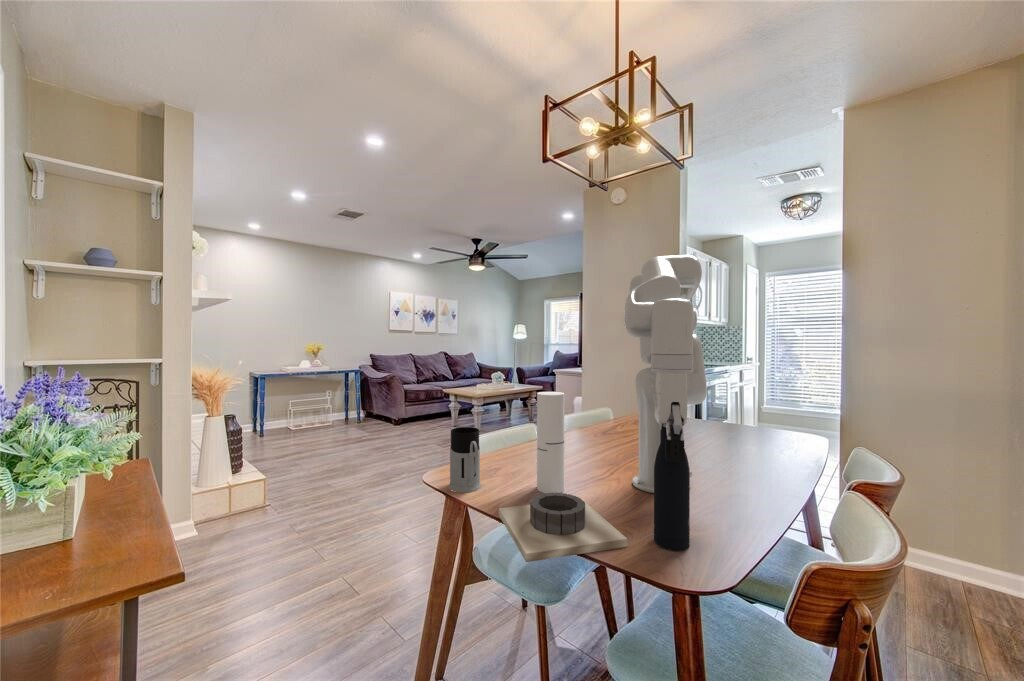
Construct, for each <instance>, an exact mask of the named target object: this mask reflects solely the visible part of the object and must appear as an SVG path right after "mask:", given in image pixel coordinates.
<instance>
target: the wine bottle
mask: <svg viewBox="0 0 1024 681" xmlns="http://www.w3.org/2000/svg"><path fill="white" fill-rule="evenodd" d="M678 403H679V402H678ZM671 412H672V411H671ZM669 422H672V423H673V421H669ZM670 429H671V428H670ZM665 439H667V431H666V423H663V426H662V427H661V443H660V445H659V448H658V451H657V454H656V459H655V464H654V493H653V541H654V543H655V544H656V545H657V546H659V547H660V548H662V549H664V550H668V551H673V552H682V551H687V550H688V549H689V548H690V530H691V529H690V524H691V523H690V507H691V506H690V503H691V502H690V498H691V497H690V496H691V495H690V493H691V492H690V486H691V484H690V483H691V482H690V478H691V477H690V471H691V470H690V466H689V460H688V459H689V458H688V454H687V452H686V449H685V448H684V462H683V463H679V462H667V461H666V460H665Z"/></svg>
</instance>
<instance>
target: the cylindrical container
mask: <svg viewBox="0 0 1024 681" xmlns="http://www.w3.org/2000/svg"><path fill="white" fill-rule="evenodd" d="M565 398H566V396H565V393H564V392H562V391H561V392H560V391H539V392H536V401H537V402H536V420H537V421H536V477H537V478H536V489H537V491H538V492H540V493H541V494H545V493H562V492H564V491H565Z"/></svg>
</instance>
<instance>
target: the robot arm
mask: <svg viewBox="0 0 1024 681" xmlns="http://www.w3.org/2000/svg"><path fill="white" fill-rule="evenodd" d="M701 264H702V263H701V262H700V261H699V259H698V258H697V257H696V256H694V255H691V254H682V255H680V254H678V255H661V256H658V255H657V256H654V257H651V258H649V259H648V260H646V261H645V262H644V264H643V265H642V268H641V273H638V274H637V275H635V276H633V277H632V278H631V280H630V283H629V293H628V295H627V297H626V299H625V302H624V325H625V330H626V331H627V333H628V334H629V335H630V336H631V337H634V338H638V339H639V353H640V358H641V362H643V364H644V365H647V366H650V367H645V368H642V369H641V370H639V371H638V372H637V374H636V375H635V379H634V380H635V381H634V382H635V383H634V384H635V391H636V392H635V393H636V400H637V409H638V410H637V411H638V475H635V476H633V477H632V484H633V486H634V487H635V488H637V489H639V490H640V491H644V492H646V493H651V494H654V464H655V459H656V454H657V451H658V448H659V445H660V443H661V427H662V426H663V423H666V431H667V439H665V460H666V461H667V462H679V463H683V462H684V449H685V439H684V438H685V436H684V435H685V434H684V426H686V424H687V423H688V405H691V406H692V405H694V406H695V405H700V404H702V403H703V402H705V400H706V399H707V394H708V393H707V392H708V390H707V389H708V386H707V377H706V368H705V360H704V359H705V358H704V350H703V345H702V341H701V338H700V337H699V336H698V335H697V334H695V333H694V330H696V328H697V324H698V317H697V316H698V314H697V311H696V309H694V305H693V303H692V301H690V300H691V299H692V298H693V297H694V295H695V293H696V291H697V289H698V287H699V286H700V284H701V280H702V277H703V276H702V274H703V272H702V271H703V270H702V265H701ZM678 402H679V403H678ZM671 411H672V412H671ZM669 421H673V423H672V422H669ZM670 428H671V429H670ZM692 477H693V472H692V470H690V478H692Z"/></svg>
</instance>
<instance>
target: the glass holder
mask: <svg viewBox="0 0 1024 681" xmlns="http://www.w3.org/2000/svg"><path fill="white" fill-rule="evenodd" d="M480 455H481V447H480V429H479V428H477V427H473V426H472V427H471V426H467V427H466V426H462V427H460V426H459V427H456V428H452V429H451V430H450V447H449V472H450V474H449V484H448V487H449V488H448V490H449V489H450V491H451V490H453V491H452V492H454V491H456V492H455V493H459V492H460V494H461V493H463V494H465V492H467V493H472V491H473V492H476V491H478V489H479V490H480V489H481V488H482V484H481V480H480V479H481V475H480V472H481V471H480V470H481V469H480V468H481V463H480V461H481V456H480Z"/></svg>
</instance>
